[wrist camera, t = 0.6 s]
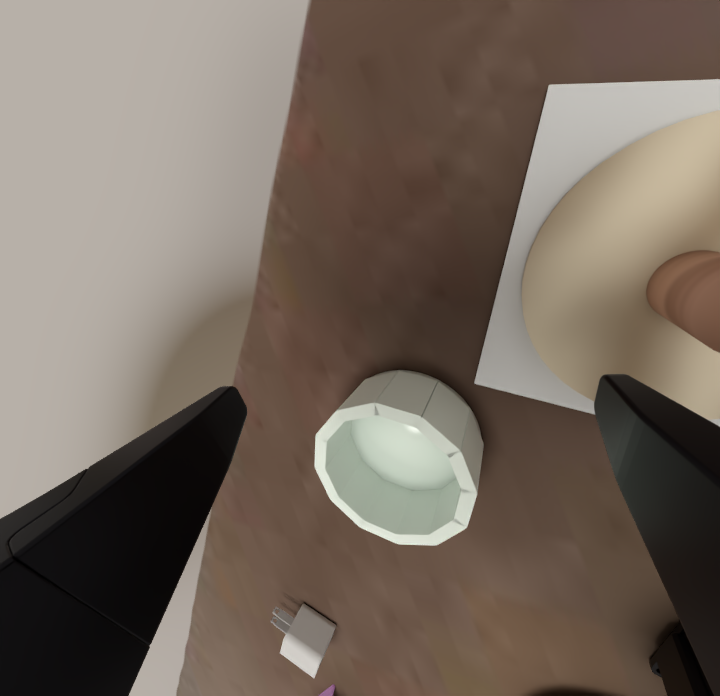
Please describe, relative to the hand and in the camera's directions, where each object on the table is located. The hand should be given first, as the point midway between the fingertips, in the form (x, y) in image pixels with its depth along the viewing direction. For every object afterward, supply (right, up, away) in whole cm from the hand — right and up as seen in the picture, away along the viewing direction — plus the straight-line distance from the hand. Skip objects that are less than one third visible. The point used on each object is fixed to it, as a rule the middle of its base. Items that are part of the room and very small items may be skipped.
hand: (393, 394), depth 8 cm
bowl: (+3, -5, +16) cm, 17 cm away
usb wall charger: (-7, -30, +30) cm, 43 cm away
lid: (+14, +4, +7) cm, 16 cm away
